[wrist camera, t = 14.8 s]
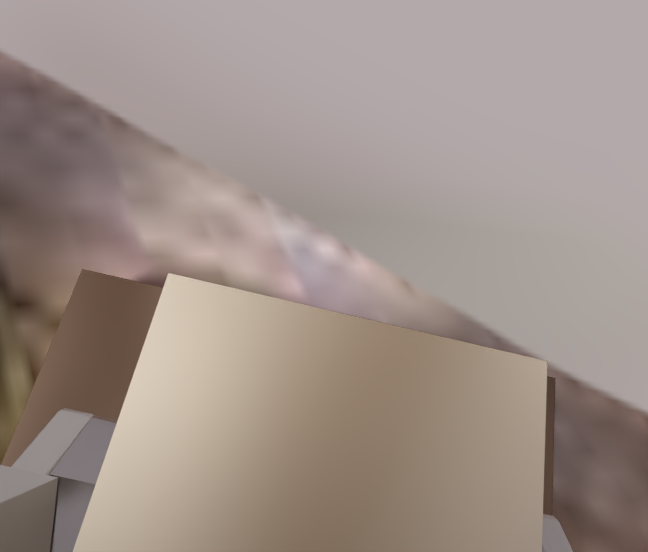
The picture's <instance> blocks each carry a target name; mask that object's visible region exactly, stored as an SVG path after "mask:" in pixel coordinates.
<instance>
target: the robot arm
mask: <svg viewBox="0 0 648 552" xmlns="http://www.w3.org/2000/svg"><path fill="white" fill-rule="evenodd" d="M117 421H118V420H115V419H111V418H107V417H102V416H98V415H96V416H95V415H93V414H90V413H85V412H81V411H76V410H72V409H67V408H65V409H62V410H60V411H58V412H57V413H56V415H55V416H54V417H53V418H52V419H51V420H50V422H49V423H48V424H47V425H46V426H45V427H44V429H43V430H42V431H41V432H40V433H39V434H38V436H37V437H36V438H35V439H34V440H33V442H32V443H31V444H30V445H29V446H28V447H27V449H26V450H25V451H24V452H23V453H22V454H21V456H20V457H19V458H18V459H17V460H16V461H15V463H14V464H13V465H12V466H11V467H8V466H3V465H0V552H73V549H74V546H75V543H76V540H77V537H78V535H79V532H80V529H81V526H82V523H83V520H84V517H85V514H86V511H87V508H88V505H89V502H90V500H91V497H92V494H93V491H94V488H95V485H96V482H97V479H98V476H99V473H100V470H101V468H102V465H103V462H104V459H105V456H106V453H107V450H108V447H109V444H110V441H111V438H112V435H113V433H114V430H115V427H116V424H117ZM542 552H573V550H572V548H571V546H570V544H569V542H568V540H567V537H566V535H565V533H564V531H563V529H562V527H561V525H560V523H559V521H558V520H557V519H556V518H555V517H554V516H551V515H545V514H543V527H542Z"/></svg>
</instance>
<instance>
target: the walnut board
mask: <svg viewBox="0 0 648 552" xmlns="http://www.w3.org/2000/svg"><path fill="white" fill-rule="evenodd" d="M162 290H163V288H162V287H158V286H153V285H149V284H145V283H140V282H136V281H132V280H127V279H123V278H119V277H114V276H110V275H106V274H101V273H97V272H93V271H88V270H84V269H82V271H81V274H80V276H79V278H78V281H77V283H76V286H75V288H74V290H73V293H72V295H71V298H70V300H69V302H68V305H67V307H66V310H65V312H64V314H63V317H62V319H61V322H60V324H59V326H58V329H57V331H56V334H55V336H54V338H53V341H52V343H51V346H50V348H49V350H48V353H47V355H46V358H45V360H44V362H43V365H42V367H41V370H40V372H39V374H38V377H37V379H36V382H35V384H34V386H33V389H32V391H31V394H30V396H29V399H28V401H27V403H26V406H25V408H24V411H23V413H22V415H21V418H20V420H19V423H18V425H17V427H16V430H15V432H14V435H13V437H12V439H11V442H10V444H9V447H8V449H7V451H6V454H5V456H4V459H3V461H2V463H1V465H3V466H8V467H11V466H12V465H13V464H14V463H15V461H16V460H17V459H18V458H19V457H20V456H21V454H22V453H23V452H24V451H25V450H26V449H27V447H28V446H29V445H30V444H31V443H32V442H33V440H34V439H35V438H36V437H37V436H38V434H39V433H40V432H41V431H42V430H43V429H44V427H45V426H46V425H47V424H48V423H49V422H50V420H51V419H52V418H53V417H54V416H55V415H56V413H57V412H58V411H60V410H62V409H65V408H67V409H72V410H76V411H81V412H85V413H90V414H93V415H95V416H96V415H98V416H102V417H107V418H111V419H115V420H118V418H119V415H120V412H121V409H122V406H123V403H124V401H125V398H126V395H127V392H128V389H129V386H130V383H131V380H132V377H133V374H134V371H135V369H136V366H137V363H138V360H139V357H140V354H141V351H142V348H143V345H144V342H145V339H146V336H147V334H148V331H149V328H150V325H151V322H152V319H153V316H154V313H155V310H156V307H157V304H158V302H159V299H160V296H161V293H162ZM554 409H555V378H552V377H548V376H547V393H546V427H545V460H544V493H543V514H545V515H551V516H552V493H553V451H554Z"/></svg>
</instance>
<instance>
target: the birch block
mask: <svg viewBox="0 0 648 552" xmlns="http://www.w3.org/2000/svg"><path fill="white" fill-rule="evenodd" d="M546 393H547V361H545V360H540V359H536V358H532V357H527V356H523V355H519V354H514V353H510V352H506V351H502V350H497V349H493V348H489V347H484V346H480V345H476V344H472V343H467V342H463V341H459V340H454V339H450V338H446V337H442V336H437V335H433V334H429V333H424V332H420V331H416V330H411V329H407V328H403V327H399V326H394V325H390V324H386V323H381V322H377V321H373V320H369V319H364V318H360V317H356V316H351V315H347V314H343V313H338V312H334V311H330V310H326V309H321V308H317V307H313V306H308V305H304V304H300V303H296V302H291V301H287V300H283V299H278V298H274V297H270V296H266V295H261V294H257V293H253V292H248V291H244V290H240V289H235V288H231V287H227V286H223V285H218V284H214V283H210V282H205V281H201V280H197V279H193V278H188V277H184V276H180V275H175V274H171V273H168V275H167V278H166V281H165V284H164V287H163V290H162V293H161V296H160V299H159V302H158V304H157V307H156V310H155V313H154V316H153V319H152V322H151V325H150V328H149V331H148V334H147V336H146V339H145V342H144V345H143V348H142V351H141V354H140V357H139V360H138V363H137V366H136V369H135V371H134V374H133V377H132V380H131V383H130V386H129V389H128V392H127V395H126V398H125V401H124V403H123V406H122V409H121V412H120V415H119V418H118V421H117V424H116V427H115V430H114V433H113V435H112V438H111V441H110V444H109V447H108V450H107V453H106V456H105V459H104V462H103V465H102V468H101V470H100V473H99V476H98V479H97V482H96V485H95V488H94V491H93V494H92V497H91V500H90V502H89V505H88V508H87V511H86V514H85V517H84V520H83V523H82V526H81V529H80V532H79V535H78V537H77V540H76V543H75V546H74V549H73V552H542V527H543V493H544V460H545V427H546Z"/></svg>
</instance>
